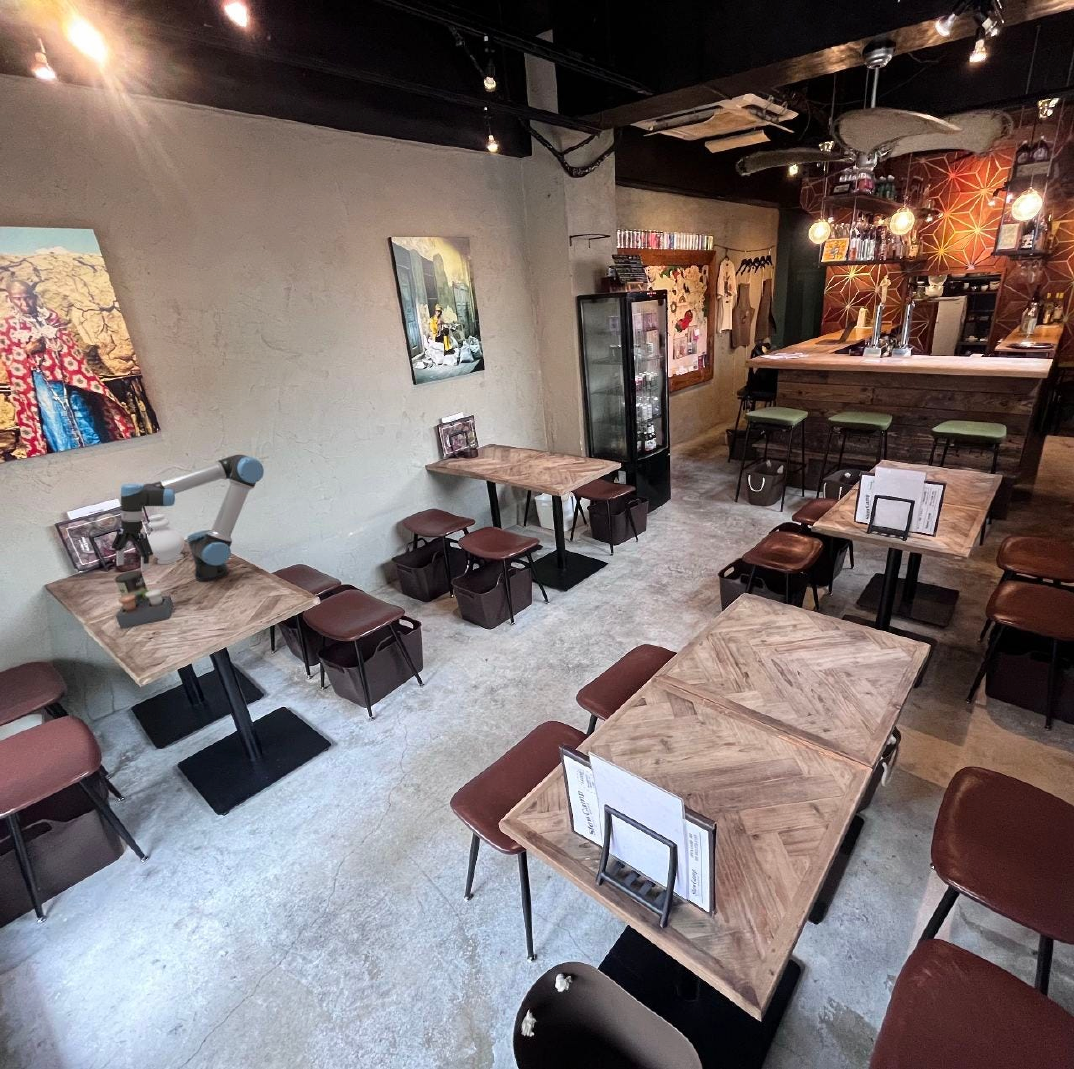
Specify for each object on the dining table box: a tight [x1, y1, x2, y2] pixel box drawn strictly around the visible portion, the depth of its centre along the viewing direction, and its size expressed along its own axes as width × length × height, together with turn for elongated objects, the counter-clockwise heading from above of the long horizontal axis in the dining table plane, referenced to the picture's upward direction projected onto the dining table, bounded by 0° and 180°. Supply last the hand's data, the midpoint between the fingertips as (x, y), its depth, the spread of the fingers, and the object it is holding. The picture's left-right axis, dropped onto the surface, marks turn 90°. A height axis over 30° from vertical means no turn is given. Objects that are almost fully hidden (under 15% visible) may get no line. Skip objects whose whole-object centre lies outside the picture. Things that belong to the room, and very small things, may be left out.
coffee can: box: [114, 570, 149, 602], centre depth 263 cm, size 10×10×14 cm
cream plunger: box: [145, 588, 163, 606], centre depth 250 cm, size 6×6×7 cm
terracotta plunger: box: [118, 594, 137, 611], centre depth 247 cm, size 6×6×7 cm
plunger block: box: [115, 594, 175, 629], centre depth 250 cm, size 18×12×6 cm, turn 111°
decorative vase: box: [147, 513, 186, 565], centre depth 309 cm, size 18×18×25 cm
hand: (132, 567), depth 252 cm, fingers open, 13 cm apart
